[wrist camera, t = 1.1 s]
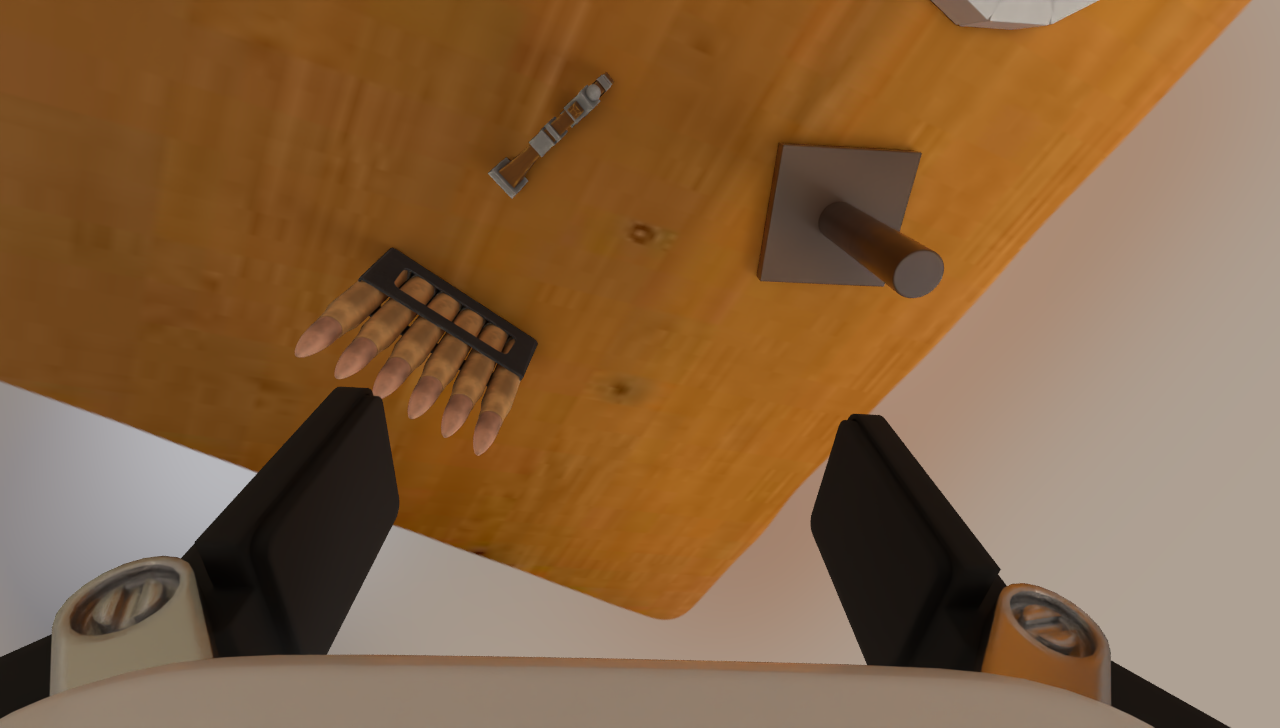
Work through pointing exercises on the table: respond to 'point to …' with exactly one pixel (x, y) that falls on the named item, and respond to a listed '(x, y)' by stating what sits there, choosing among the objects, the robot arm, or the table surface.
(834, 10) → the table surface
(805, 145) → the stand
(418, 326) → the ammunition clip
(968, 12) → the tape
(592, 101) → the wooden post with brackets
